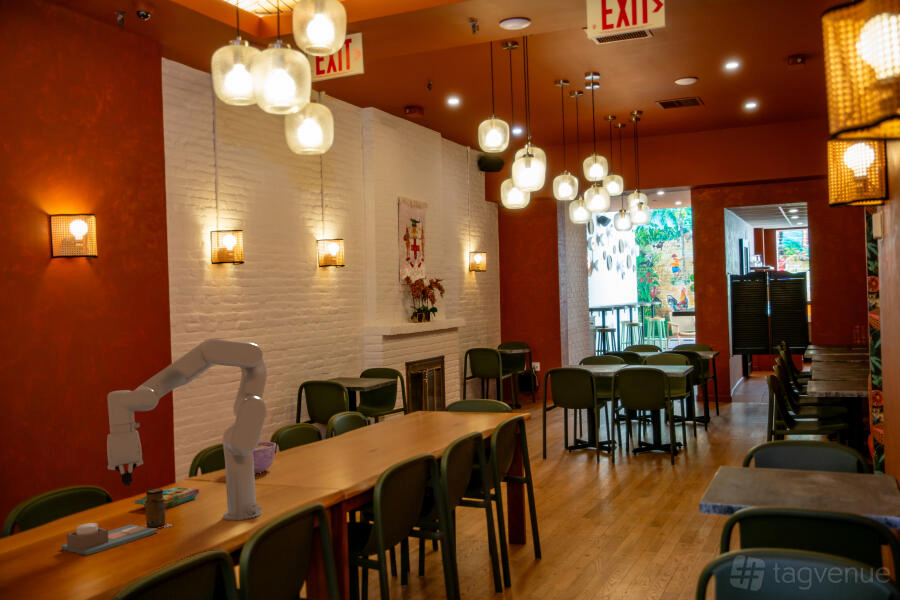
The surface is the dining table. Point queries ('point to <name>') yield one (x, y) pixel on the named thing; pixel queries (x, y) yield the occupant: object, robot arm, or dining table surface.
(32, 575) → the dining table surface
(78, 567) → the dining table surface
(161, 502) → the condiment
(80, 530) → the dome
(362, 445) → the dining table surface
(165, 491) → the puzzle game
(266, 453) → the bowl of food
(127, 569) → the dining table surface
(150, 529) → the board
